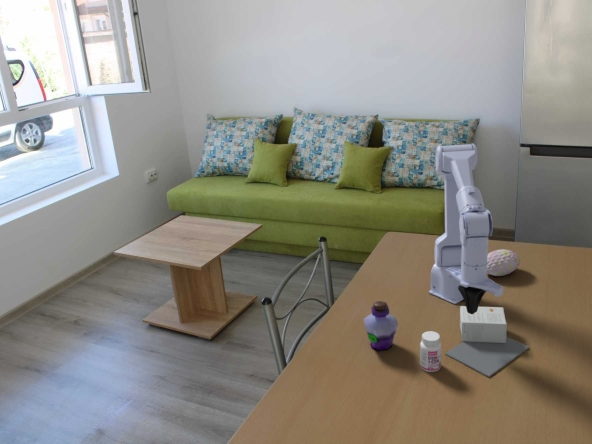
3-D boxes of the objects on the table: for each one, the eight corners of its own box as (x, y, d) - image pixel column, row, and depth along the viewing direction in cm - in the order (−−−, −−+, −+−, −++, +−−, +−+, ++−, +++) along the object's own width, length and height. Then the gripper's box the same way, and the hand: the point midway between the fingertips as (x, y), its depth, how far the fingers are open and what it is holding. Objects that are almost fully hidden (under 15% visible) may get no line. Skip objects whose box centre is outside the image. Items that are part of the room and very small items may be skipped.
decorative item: (472, 262, 165) (494, 236, 163) (483, 269, 174) (504, 245, 172) (495, 281, 159) (518, 255, 158) (505, 287, 168) (528, 262, 166)
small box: (460, 341, 136) (506, 344, 133) (461, 322, 134) (507, 324, 131) (459, 324, 143) (502, 326, 140) (460, 305, 141) (503, 307, 138)
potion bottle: (360, 352, 136) (358, 310, 132) (368, 333, 143) (367, 292, 139) (394, 357, 133) (393, 314, 128) (401, 337, 140) (401, 296, 136)
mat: (445, 354, 132) (445, 353, 132) (485, 328, 141) (485, 327, 141) (488, 377, 123) (488, 376, 123) (528, 348, 132) (529, 346, 132)
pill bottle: (429, 375, 126) (429, 344, 123) (415, 364, 130) (415, 334, 127) (445, 368, 128) (446, 337, 124) (431, 357, 132) (431, 327, 128)
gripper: (437, 257, 130) (437, 307, 135) (491, 277, 119) (488, 330, 124) (456, 248, 134) (455, 296, 139) (510, 266, 123) (506, 318, 128)
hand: (472, 311), depth 132 cm, fingers closed
